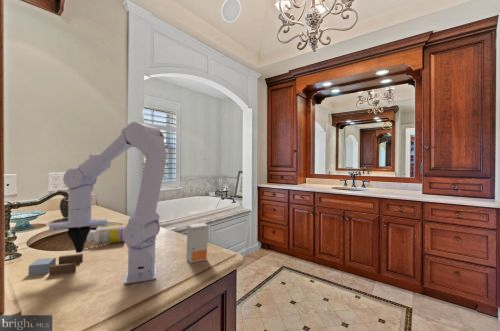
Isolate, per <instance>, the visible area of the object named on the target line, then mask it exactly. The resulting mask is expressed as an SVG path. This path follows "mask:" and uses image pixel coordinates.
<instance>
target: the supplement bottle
mask: <svg viewBox="0 0 500 331" xmlns="http://www.w3.org/2000/svg"><path fill="white" fill-rule="evenodd" d="M126 226H127V225H126V224H115V225H107V227H103V226H102V227H96V229H94V230H93V229H91V230H90V232H89V234H88V236H87V238H86V241H87V242H86V243H93V242H94V243H95V244H96V245H103V244H111V243H121V242H124V240H123V231H124V229H125V228H126Z"/></svg>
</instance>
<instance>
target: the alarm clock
mask: <svg viewBox="0 0 500 331" xmlns="http://www.w3.org/2000/svg"><path fill="white" fill-rule="evenodd" d="M66 192H69V189H67V190H66ZM65 198H66V197H62V199H61V200H60V203H59V209H60V210H59V211H60V213H61V215H62V217H63V218H62V220H64V219H65V218H66V219H68V205H67V204H65Z"/></svg>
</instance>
